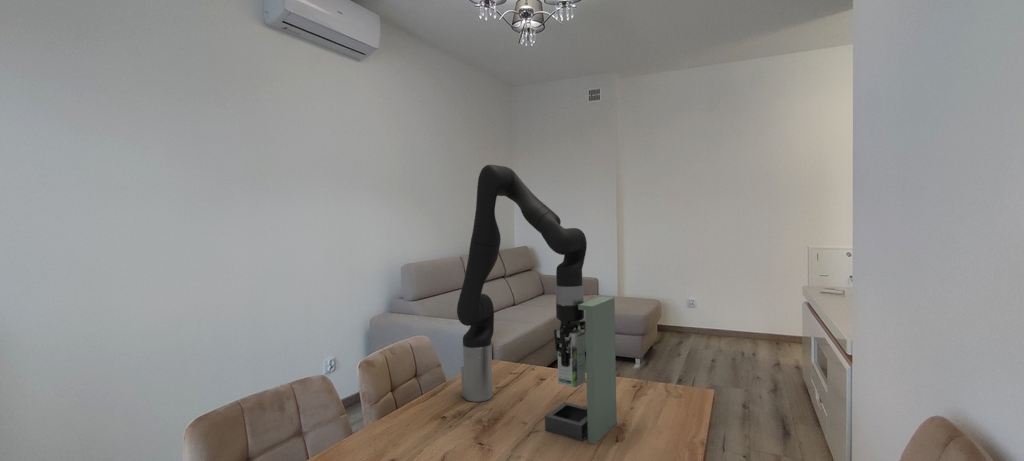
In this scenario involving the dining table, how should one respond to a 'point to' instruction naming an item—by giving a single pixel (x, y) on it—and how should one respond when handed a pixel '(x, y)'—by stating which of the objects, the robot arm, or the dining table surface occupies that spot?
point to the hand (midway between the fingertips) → (571, 362)
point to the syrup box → (573, 361)
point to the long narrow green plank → (600, 366)
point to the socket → (568, 421)
